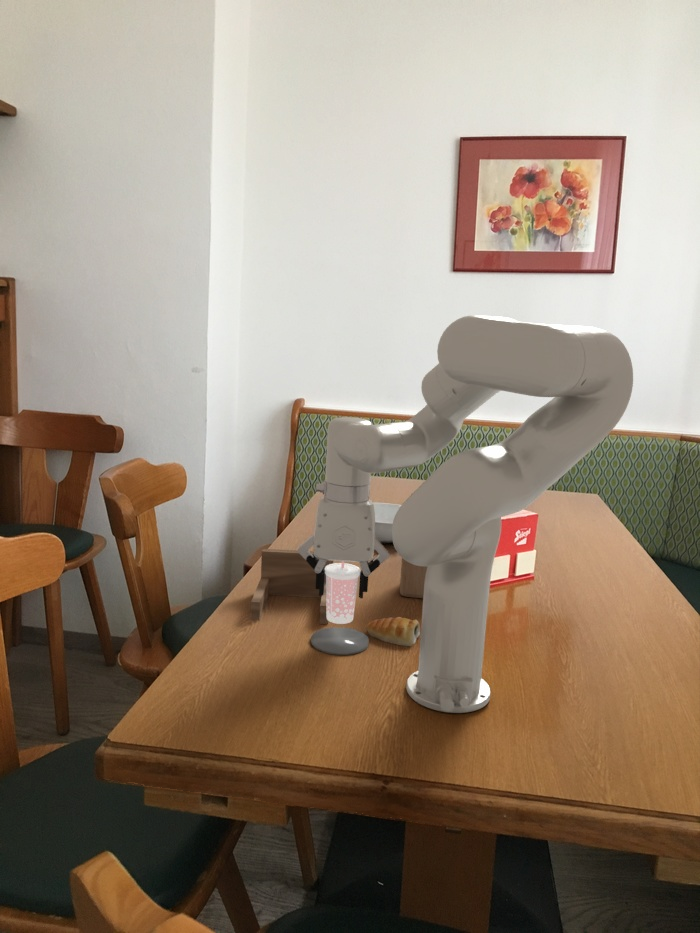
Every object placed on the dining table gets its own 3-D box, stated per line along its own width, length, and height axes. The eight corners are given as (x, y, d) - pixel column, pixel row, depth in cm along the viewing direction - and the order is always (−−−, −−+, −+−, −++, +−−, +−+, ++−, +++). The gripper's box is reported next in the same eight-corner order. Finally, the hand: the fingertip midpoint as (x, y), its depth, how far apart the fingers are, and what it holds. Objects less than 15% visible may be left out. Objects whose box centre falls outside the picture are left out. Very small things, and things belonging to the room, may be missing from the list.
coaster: (368, 656, 125) (368, 653, 125) (308, 653, 125) (308, 649, 125) (368, 631, 135) (368, 628, 135) (312, 628, 135) (313, 625, 135)
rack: (328, 624, 137) (330, 577, 135) (250, 619, 137) (251, 573, 136) (331, 595, 152) (333, 552, 150) (261, 591, 152) (262, 548, 150)
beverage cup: (364, 619, 130) (369, 541, 127) (340, 629, 125) (345, 548, 122) (338, 608, 134) (343, 533, 131) (314, 617, 129) (318, 539, 126)
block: (448, 603, 150) (455, 506, 146) (398, 597, 152) (404, 501, 148) (451, 586, 160) (458, 495, 156) (405, 581, 162) (411, 490, 158)
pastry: (361, 640, 132) (362, 619, 131) (371, 626, 138) (372, 606, 137) (413, 649, 129) (415, 628, 128) (421, 634, 135) (423, 614, 135)
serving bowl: (427, 552, 183) (429, 525, 182) (341, 547, 183) (342, 520, 182) (421, 528, 204) (422, 504, 202) (343, 524, 204) (345, 500, 202)
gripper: (293, 494, 121) (288, 599, 125) (400, 500, 121) (392, 605, 125) (297, 484, 128) (292, 583, 132) (398, 490, 128) (390, 589, 132)
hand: (341, 593), depth 128 cm, fingers closed on beverage cup, 6 cm apart
